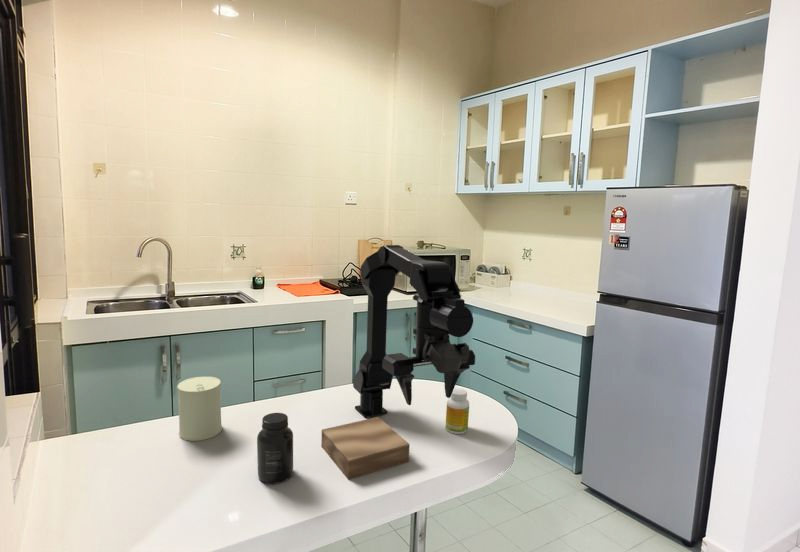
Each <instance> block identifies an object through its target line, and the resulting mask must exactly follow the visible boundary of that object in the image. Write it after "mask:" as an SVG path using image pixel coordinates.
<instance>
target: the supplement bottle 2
mask: <svg viewBox="0 0 800 552" xmlns="http://www.w3.org/2000/svg"><path fill="white" fill-rule="evenodd" d="M467 398H468V392H467V390H465V389H464V388H457V387H456V388H455V387H454V389H453V392H452V394H451V397H450V398H448V399H447V400H446V411H445V412H446V413H445V430H446V431H447V432H449V433H451V434H456V435H462V434H463V435H464V434H465V433H466V432H468V428H469V416H470V415H469V413H470V402H469V400H468V399H467Z"/></svg>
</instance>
